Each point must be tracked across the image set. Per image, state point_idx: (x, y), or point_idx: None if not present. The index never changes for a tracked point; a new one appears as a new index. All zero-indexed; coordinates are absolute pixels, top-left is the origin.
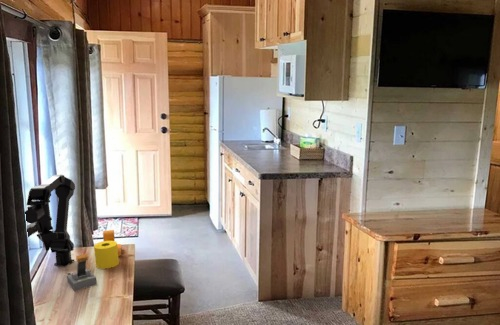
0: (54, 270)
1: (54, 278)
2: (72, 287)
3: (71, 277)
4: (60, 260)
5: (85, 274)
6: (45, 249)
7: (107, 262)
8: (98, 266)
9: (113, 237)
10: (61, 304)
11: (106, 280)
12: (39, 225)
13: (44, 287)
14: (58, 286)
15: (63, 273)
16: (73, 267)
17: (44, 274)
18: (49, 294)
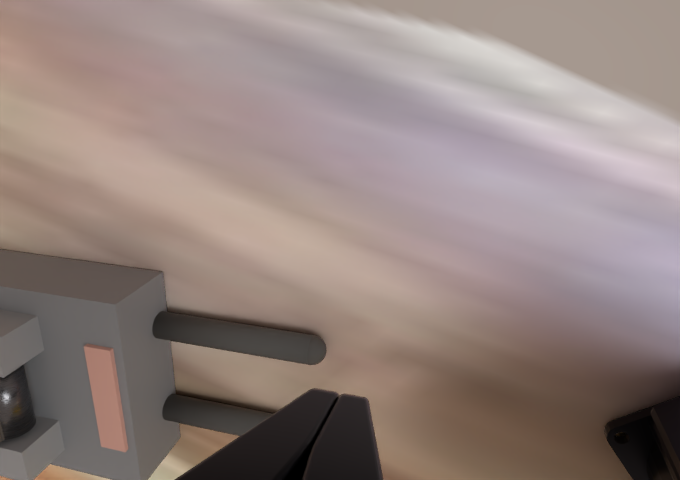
0: (594, 296)
1: (350, 216)
2: (10, 257)
3: (47, 314)
4: (675, 449)
5: (38, 419)
6: (348, 411)
7: None
8: None
9: None
10: None
11: (49, 469)
12: None
13: (185, 60)
14: (131, 180)
15: (415, 329)
16: (496, 454)
17: (570, 166)
18: (7, 58)
